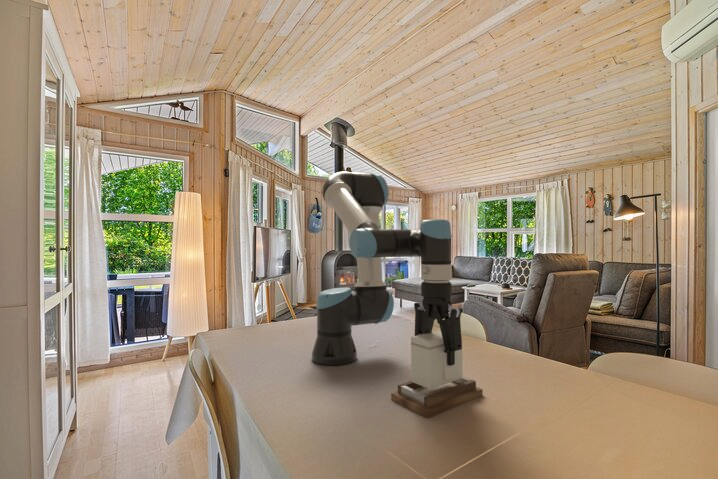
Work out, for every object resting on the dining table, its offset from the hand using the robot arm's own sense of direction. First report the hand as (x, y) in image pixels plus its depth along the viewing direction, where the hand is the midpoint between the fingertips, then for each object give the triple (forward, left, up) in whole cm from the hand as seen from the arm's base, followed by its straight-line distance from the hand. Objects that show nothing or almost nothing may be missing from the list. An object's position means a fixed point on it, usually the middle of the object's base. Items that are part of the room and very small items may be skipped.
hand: (437, 373), depth 89 cm
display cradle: (0, 0, -6) cm, 6 cm away
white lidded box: (0, 0, -1) cm, 1 cm away
